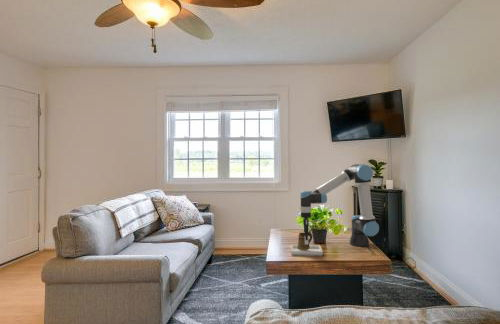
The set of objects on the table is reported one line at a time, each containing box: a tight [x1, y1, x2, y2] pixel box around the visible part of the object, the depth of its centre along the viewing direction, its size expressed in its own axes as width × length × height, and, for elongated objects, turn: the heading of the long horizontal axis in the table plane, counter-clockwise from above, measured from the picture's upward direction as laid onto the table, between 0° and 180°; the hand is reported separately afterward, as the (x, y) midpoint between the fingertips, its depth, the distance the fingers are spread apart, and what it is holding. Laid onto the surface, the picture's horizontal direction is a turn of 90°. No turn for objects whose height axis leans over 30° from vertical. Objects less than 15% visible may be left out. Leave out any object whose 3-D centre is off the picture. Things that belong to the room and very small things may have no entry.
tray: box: [290, 244, 324, 257], centre depth 230 cm, size 22×16×3 cm
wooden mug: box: [297, 224, 316, 250], centre depth 230 cm, size 9×14×18 cm, turn 72°
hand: (306, 242), depth 230 cm, fingers closed on wooden mug, 7 cm apart
